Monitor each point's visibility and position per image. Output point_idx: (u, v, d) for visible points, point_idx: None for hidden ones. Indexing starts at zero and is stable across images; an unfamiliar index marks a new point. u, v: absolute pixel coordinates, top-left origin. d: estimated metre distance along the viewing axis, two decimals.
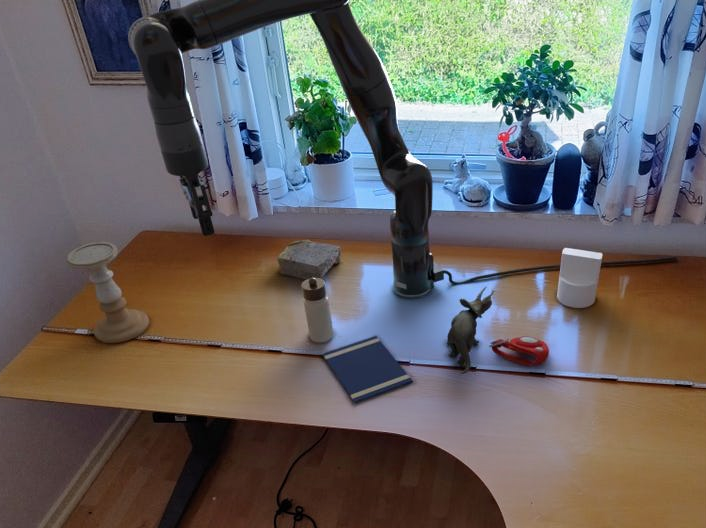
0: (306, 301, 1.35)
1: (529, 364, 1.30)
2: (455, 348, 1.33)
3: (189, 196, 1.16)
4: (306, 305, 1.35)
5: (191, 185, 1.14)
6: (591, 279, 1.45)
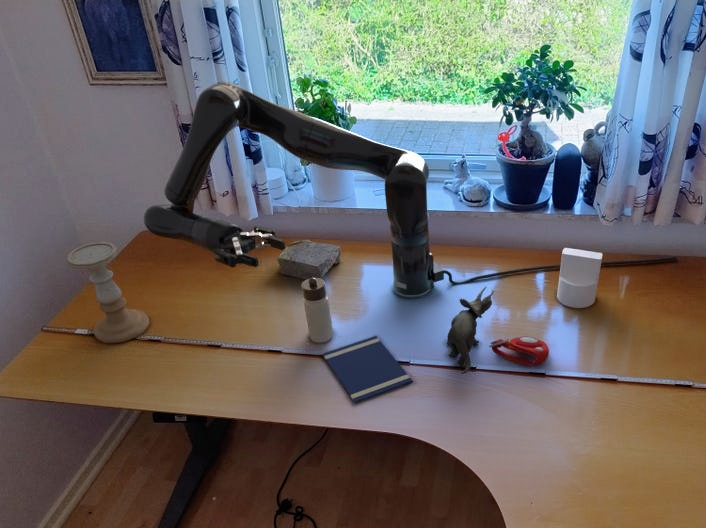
0: (306, 301, 1.35)
1: (529, 364, 1.30)
2: (455, 348, 1.33)
3: None
4: (306, 305, 1.35)
5: None
6: (591, 279, 1.45)
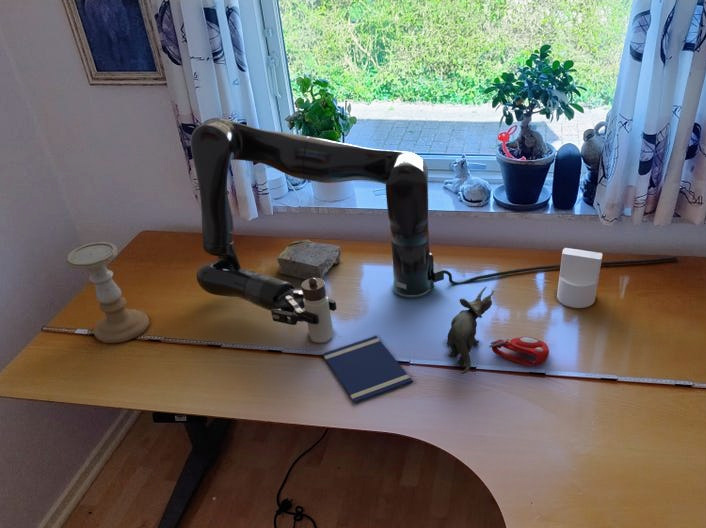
0: (306, 301, 1.35)
1: (529, 364, 1.30)
2: (455, 348, 1.33)
3: None
4: (306, 305, 1.35)
5: None
6: (591, 279, 1.45)
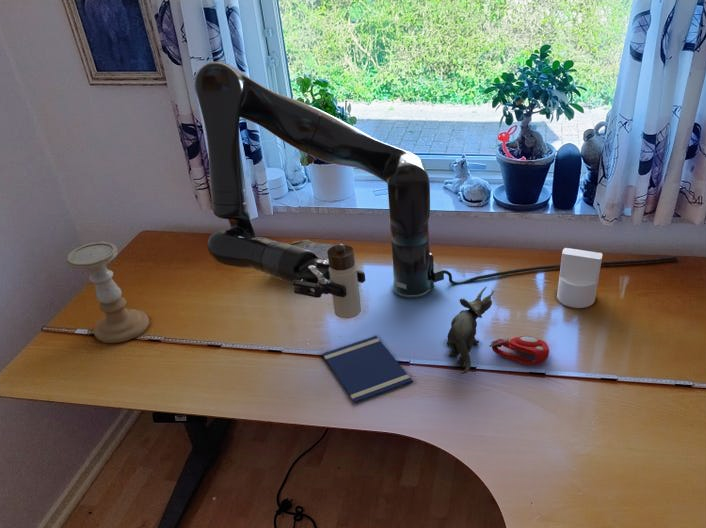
0: (332, 271, 1.20)
1: (529, 363, 1.31)
2: (455, 348, 1.33)
3: None
4: (332, 275, 1.20)
5: None
6: (591, 279, 1.45)
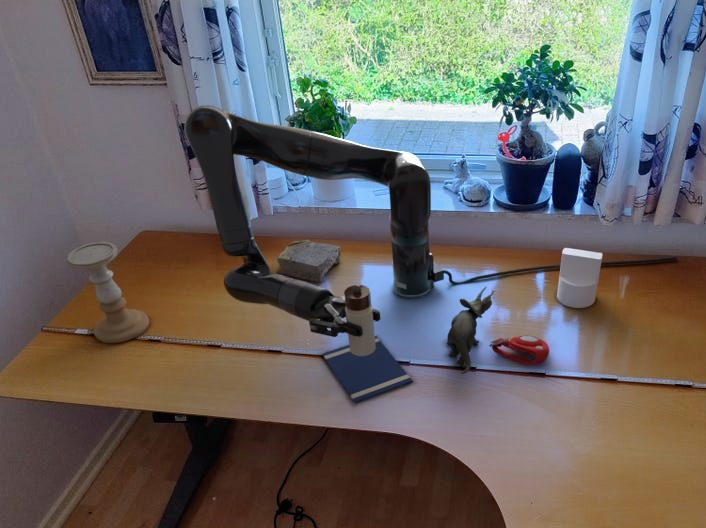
0: (349, 311, 1.22)
1: (529, 363, 1.31)
2: (455, 348, 1.33)
3: None
4: (348, 315, 1.22)
5: None
6: (591, 279, 1.45)
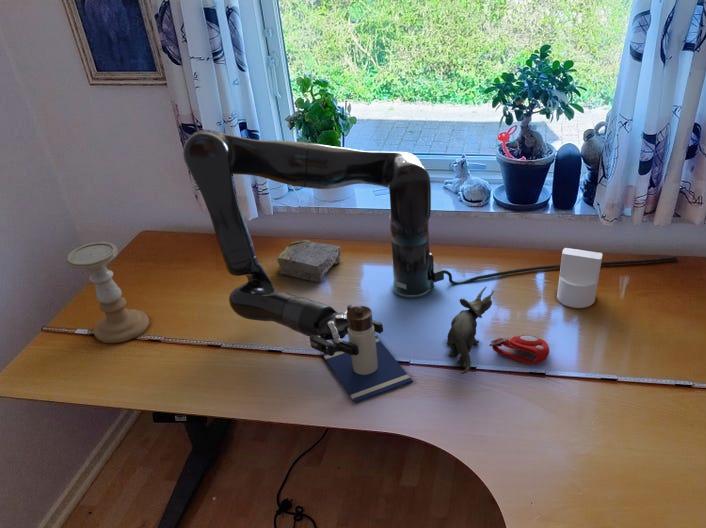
0: (351, 331, 1.25)
1: (530, 362, 1.31)
2: (455, 348, 1.33)
3: (332, 342, 1.29)
4: (351, 336, 1.25)
5: None
6: (591, 279, 1.45)
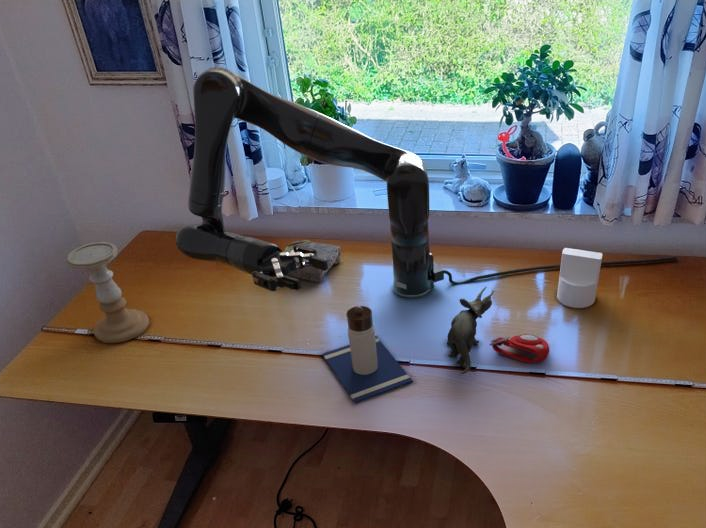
0: (351, 331, 1.25)
1: (530, 361, 1.31)
2: (455, 348, 1.33)
3: None
4: (351, 336, 1.25)
5: None
6: (591, 279, 1.45)
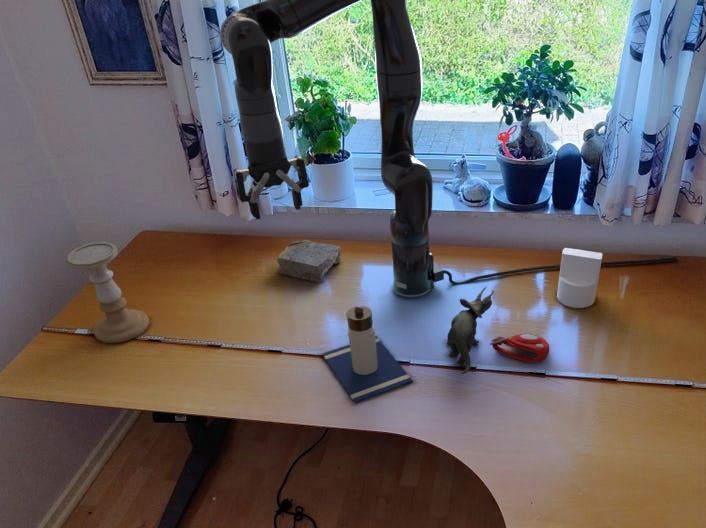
0: (351, 331, 1.25)
1: (530, 361, 1.31)
2: (455, 348, 1.33)
3: None
4: (351, 336, 1.25)
5: (247, 169, 1.22)
6: (591, 279, 1.45)
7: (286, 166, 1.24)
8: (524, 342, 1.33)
